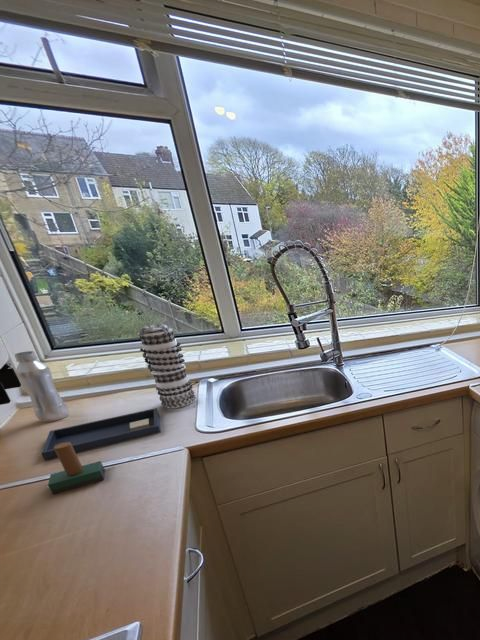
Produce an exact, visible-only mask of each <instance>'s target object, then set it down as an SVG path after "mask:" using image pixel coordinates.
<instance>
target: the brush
mask: <svg viewBox="0 0 480 640" xmlns="http://www.w3.org/2000/svg"><path fill="white" fill-rule="evenodd" d="M54 450H55V452H56V454H57V456H58V457H57V459H58V460H59V462H60V464H61V466H62V468H63V470H61V471H58V472H54V473H51V474H50V476H49V478H48V479H49V480H48V484H47V486H48V488H49V490H50V491H51V494H52V495H57V494H60V493H63V492H67V491H71V490H74V489H77V488H80V487H85V486H87V485H91V484H94V483H98V482H101V481H104V480H105V471H106V470H105V467H104V465H103V463H102V461H101V460H99V461H95V462H92V463H87V464H85V465H82V463H81V461H80V459H79V457H78V455H77V453H75V451H74V448H73V446H72V444H71V443H70V442H65V443H61V444H58V445H56V446H54Z"/></svg>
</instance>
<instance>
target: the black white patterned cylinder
mask: <svg viewBox="0 0 480 640" xmlns="http://www.w3.org/2000/svg"><path fill="white" fill-rule="evenodd" d="M173 330H174V329H173V328H170V327H169V326H168V325H166V324H150V325H146V326H143V327H141V328H140V330H139V332H138V333H136V335H137V336H138V337H139V339H140V342H141V348H139V351H140V352H142V355H141V356H142V358H144V362H145V363H146V364H147V365H146V366H147V369H148V370H149V372H150V375H153V377H154V383H155V385H156V387H155V390H156V391H157V395H159V401H160V405H161V406H163V407H165V408H167V409H178V408H182V407H186V406H189V405H191V404H193V403H194V401H195V399H196V398H197V397H196V394H195V390H194V389H193V388H194V387H193V385H192V381H191V380H190V379H189V376H188V374H187V372H186V365H185V364H184V363H185V361H186V360H185V359H184V354H183V353H180V352H181V351H182V350H183V349H182V347H180V346H181V343H180V342H178V341H177V339H176V338H175V334H174V331H173Z"/></svg>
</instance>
